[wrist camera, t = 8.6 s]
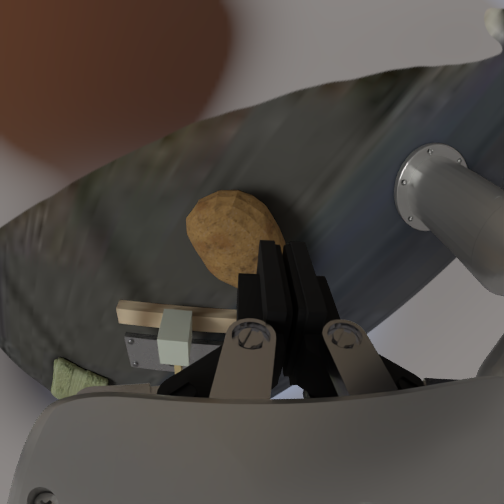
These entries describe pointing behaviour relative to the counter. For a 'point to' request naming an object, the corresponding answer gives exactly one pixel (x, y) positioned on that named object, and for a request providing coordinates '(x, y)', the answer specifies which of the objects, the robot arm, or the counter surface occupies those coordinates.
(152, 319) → the rail
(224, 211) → the potato
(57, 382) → the washcloth
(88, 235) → the counter surface
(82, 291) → the counter surface
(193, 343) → the bolt plate
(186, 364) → the block
